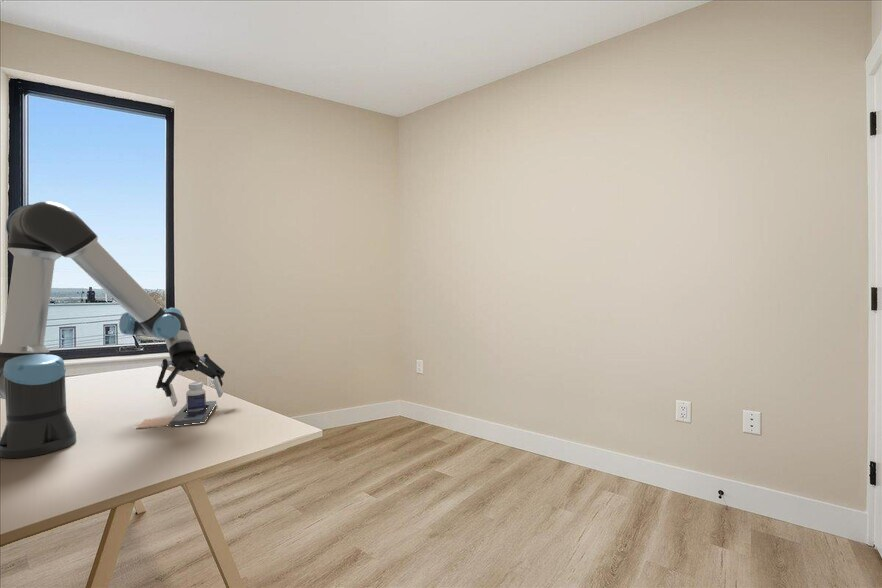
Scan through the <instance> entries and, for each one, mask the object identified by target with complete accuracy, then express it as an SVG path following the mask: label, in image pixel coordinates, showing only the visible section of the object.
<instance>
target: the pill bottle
mask: <svg viewBox="0 0 882 588" xmlns="http://www.w3.org/2000/svg"><path fill="white" fill-rule="evenodd" d="M203 386H204V385H203V382H202V381H196V382H191V383H188V389H189V390H187V391H186V394H185V395H186V403H187V412H194V411H205V410H206V402H207V401H206V398H207V397H206V390H205V389H204V388H203Z"/></svg>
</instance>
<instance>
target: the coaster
mask: <svg viewBox="0 0 882 588" xmlns="http://www.w3.org/2000/svg"><path fill="white" fill-rule="evenodd" d="M174 417H175V416H171V417H170V416H169V417H167V416H166V417H158V418H157V417H156V418H146V419H144V420H143V421H142V422H141V423H140V424H139V425H138V426H136V428H135V429H136V430H140V429H139V428H143V429H150V428H149V427H154V428H159V427H158V426H164V427H168V426H169V425H170V424H169V423H170V421H171V420H172V419H173V418H174ZM168 424H169V425H168ZM167 425H168V426H167Z"/></svg>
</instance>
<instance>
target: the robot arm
mask: <svg viewBox="0 0 882 588" xmlns="http://www.w3.org/2000/svg"><path fill="white" fill-rule="evenodd" d="M5 230H6V232H7V235H8V241H7V250H8V251H9V253H11V254H12V256H13V263H12V268H11V269H12V270H11V277H10V282H9V283H10V284H9V289H8V291H9V292H8V298H7V305H6V312H5V318H4V326H3V332H2V340H1V343H0V399H3V400H5V415H6V416H5V417H6V423H5V426H4V429H3V432H2V435H1V438H0V456H1V457H0V458H2V457H4V458H3V459H21V458H22V459H23V458H29V457H30V458H31V457H35V456H41V455H45V454H49V453H54V452H57V451H60V450H62V449H64V448H68V447H69V446H71V445H73V444H75V443H76V442H77V431H76V429H75V427H74V425H73V424H72V421H71V419H70V417H69V415H68V412H67V392H66V391H67V389H66V371H67V370H66V365H65V361H64V359H63V358H62V357H61V356H58V355H55V354H51V353H50V352H51V351H50V349H49V348H47V346H46V345H45V336H46V329H47V321H48V315H49V308H50V300H51V293H52V285H53V278H54V277H53V276H54V270H55V263H56V261H57V260H58V259H60V258H63V257H64V258H69V259H71V260H72V261H73V262H74V263H75V264H77V266H79V268H81V269H82V270H83V271H84V272H85V273H86V274H87V275H88V276H89V277H90V278H91V279H92V280H93V281H94V282H95V283H96V284H98V286H100V287H101V289H103V290H104V291H105V292H106V293H107V294H108V296H110V297H111V298H112V299H113V300H114V301H116V303H118V305H119V306H120V307H122V309H124V311H125V312H123V314H121V316H120V318H119V323H118V327H119V331H120V333H121V334H122V335H129V336H140V337H141V336H144V337H150V338H151V337H152V338H156V339H161V340H164V342H165V344H166V348H167V351H168V354H169V357H170V360H168V359H167V358H163V360H162V362H161V370H160V374H159V376H158V380H157V382H156V386H155V388H156V389H162V391H164V393H165V396H166V398H167V397H168V398H170V399H169V400H170V401H171V405H172V407H176V406H177V404H178V398H177V394H176V392H175V389H174V386H173V384H172V383H173V380H175V378H176V376H177V375H178V374H179V372H180V371H181V372H188V371H191V372H192V371H196V372H200V373H201V374H203V375H205V376H207V377H209V378H210V379H212V383H213V385H214V389H215V391H216V393H217V397H218V398H222V396H223V395H224V394H223V393H224V390H223V388H222V387H223V384H224V383H223V380H222V378H224V376H225V374H226V371H225V370H224V369H222V368H221V366H219V365H218V364H217V363H216V362H214V361H213V360H212V359H211V358H210V356H209V354H207V353H204V354H203V355H201V356H199V355H198V353H197V351H196V347H195V345H194V344H193V340H192V337H191V335H190V332H189V329H188V326H187V324H186V321H185V318H184V315H183V314H182V312H181V310H180V309H178V308H175V307H169V308H162V307H161V305H159V304H158V302H157V301H156V300H154V299H153V297H152V296H151V295H150V294H149V293H148V292H147V291H146V290H145V289H144V288H143V287H142V286H141V285H140V284H139V283H138V282H137V281H136V280H135V279H134V278H133V277H132V275H130V274H129V273H128V272H127V270H125V268H124V267H122V265H121V264H120V263H118V262H117V260H116V259H115V258H114V257H113V256H112V255H111V254H110V253H109V252H108V251H107V250H106V249H105V248H104V247H103V246H102V245H101V244H100V243H99V241H98V239H99V238H98V237H99V236H98V235H97V234H96V233H95V232H94V231H93V229H91V228H90V227H89V226H88V224H87V223H86V222H84V220H83V219H82V218H81V217H80V216H78V215H77V213H75V212H74V211H73V210H71V208H69V207H67V206H65V205H63V204H61V203H59V202H53V201H39V202H36V203H33V204H26V205H22V206H20V207H18V208H16V209H14V210H13V211H12V212H11V213H10V214H9V215H8V217H7V219H6V222H5ZM170 365H171V366H172V367H174V369H173V370H172V371H171V373H170V374H169V376H168V377H167V379H166V380H165V381H164V377H165V375H166V372H167V369H168V368H169V367H170Z"/></svg>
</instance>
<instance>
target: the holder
mask: <svg viewBox="0 0 882 588" xmlns="http://www.w3.org/2000/svg"><path fill="white" fill-rule="evenodd" d="M215 404H216V405H217V400H209V401H208V400H207V401H206V408H207V409H206V410H205V411H194V412H186V411H187V402H185V405H184V406H183V407H181V409H180V410H179V411H178V412H177V413H176V414H175V416H173V417H174V418H173V419H172V420H171V421H170V424H169V425H170V427H171V426H175V425H184V424H192V423H200V422H205V420H206V419H207V417H208V416H209V414H210V412H211V411H212V409H213V407H214V406H215ZM209 417H210V416H209ZM207 420H208V419H207ZM205 423H206V422H205ZM175 427H176V426H175Z"/></svg>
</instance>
